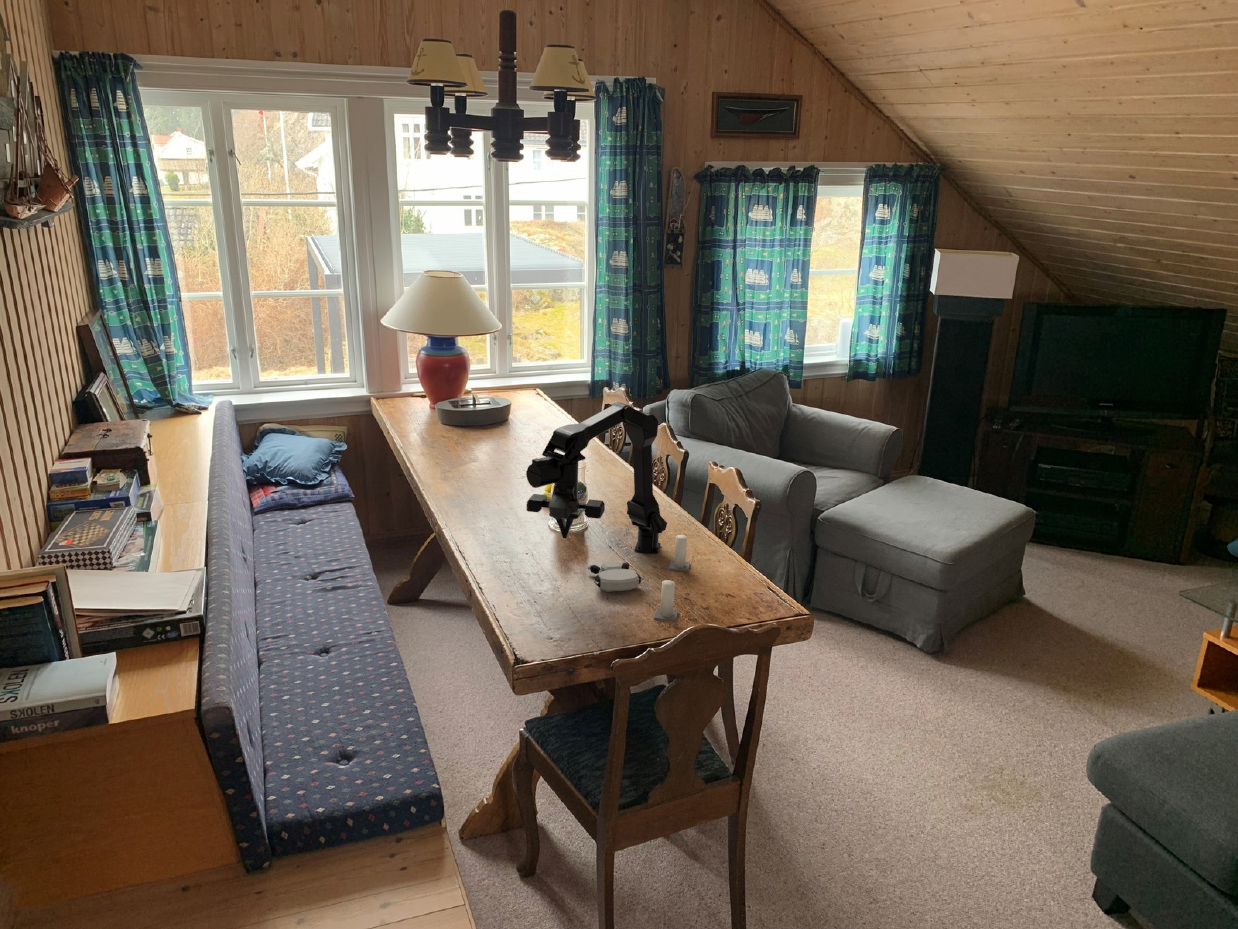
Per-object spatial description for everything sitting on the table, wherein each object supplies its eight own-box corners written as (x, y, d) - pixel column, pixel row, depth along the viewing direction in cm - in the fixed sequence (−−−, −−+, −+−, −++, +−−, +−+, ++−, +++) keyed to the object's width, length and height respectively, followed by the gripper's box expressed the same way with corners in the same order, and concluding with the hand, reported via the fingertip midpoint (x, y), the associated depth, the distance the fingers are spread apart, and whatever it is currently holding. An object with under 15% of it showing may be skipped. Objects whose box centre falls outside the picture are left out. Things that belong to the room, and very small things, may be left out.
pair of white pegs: (671, 562, 238) (673, 532, 235) (689, 564, 237) (692, 534, 234) (654, 619, 207) (656, 586, 204) (675, 622, 206) (677, 588, 203)
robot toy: (584, 576, 230) (597, 598, 216) (584, 560, 229) (597, 581, 215) (630, 573, 233) (646, 595, 219) (630, 556, 232) (646, 577, 218)
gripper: (520, 486, 212) (520, 546, 217) (597, 493, 209) (595, 554, 214) (532, 471, 222) (532, 529, 227) (606, 478, 219) (604, 537, 224)
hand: (565, 537), depth 223 cm, fingers closed
